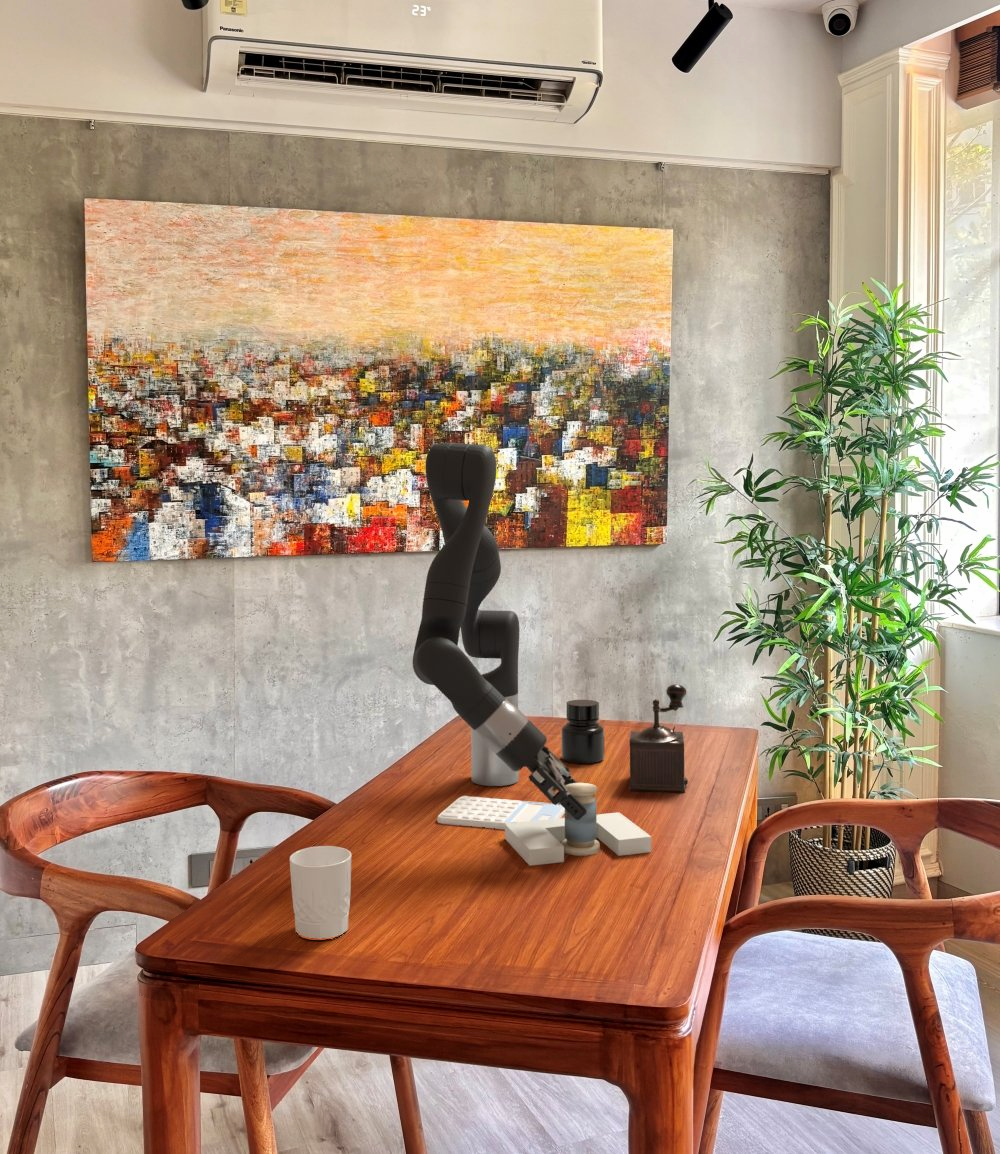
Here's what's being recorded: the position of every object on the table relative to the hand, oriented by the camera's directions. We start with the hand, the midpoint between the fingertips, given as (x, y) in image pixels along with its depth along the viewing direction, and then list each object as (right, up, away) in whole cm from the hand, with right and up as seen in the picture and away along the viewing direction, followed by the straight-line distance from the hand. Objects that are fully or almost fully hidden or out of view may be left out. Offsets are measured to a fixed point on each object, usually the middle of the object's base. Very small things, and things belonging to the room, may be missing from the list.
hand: (583, 807), depth 170 cm
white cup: (-36, -10, -30) cm, 48 cm away
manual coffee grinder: (+18, -3, +39) cm, 43 cm away
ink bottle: (+4, -2, +56) cm, 56 cm away
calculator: (-13, -6, +18) cm, 23 cm away
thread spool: (0, -7, +1) cm, 7 cm away
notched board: (-1, -7, +2) cm, 7 cm away
